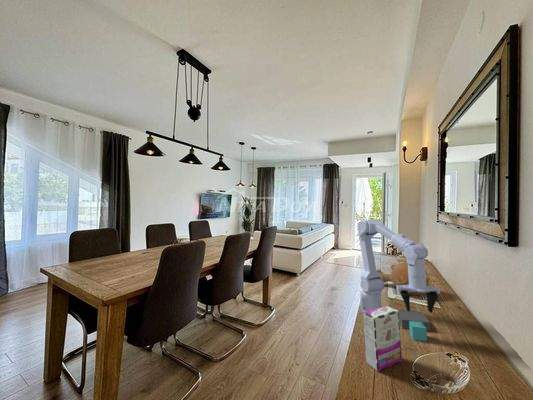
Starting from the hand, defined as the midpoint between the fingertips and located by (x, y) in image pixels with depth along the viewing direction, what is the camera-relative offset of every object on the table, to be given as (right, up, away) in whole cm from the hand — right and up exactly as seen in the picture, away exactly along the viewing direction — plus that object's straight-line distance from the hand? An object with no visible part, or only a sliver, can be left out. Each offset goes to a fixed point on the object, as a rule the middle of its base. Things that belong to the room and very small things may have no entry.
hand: (418, 310), depth 90 cm
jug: (+22, -11, +48) cm, 54 cm away
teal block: (-1, -10, -2) cm, 10 cm away
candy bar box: (-21, -10, -15) cm, 28 cm away
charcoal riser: (+3, -10, +9) cm, 13 cm away
